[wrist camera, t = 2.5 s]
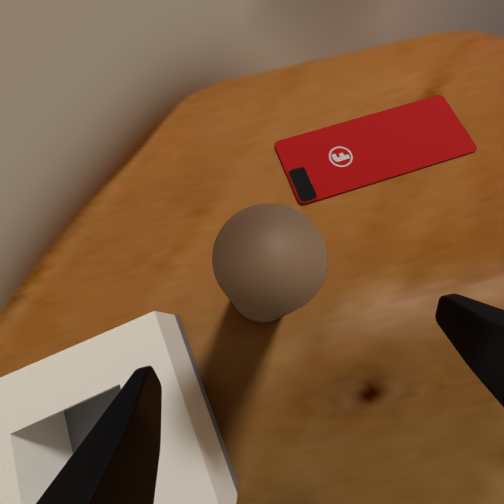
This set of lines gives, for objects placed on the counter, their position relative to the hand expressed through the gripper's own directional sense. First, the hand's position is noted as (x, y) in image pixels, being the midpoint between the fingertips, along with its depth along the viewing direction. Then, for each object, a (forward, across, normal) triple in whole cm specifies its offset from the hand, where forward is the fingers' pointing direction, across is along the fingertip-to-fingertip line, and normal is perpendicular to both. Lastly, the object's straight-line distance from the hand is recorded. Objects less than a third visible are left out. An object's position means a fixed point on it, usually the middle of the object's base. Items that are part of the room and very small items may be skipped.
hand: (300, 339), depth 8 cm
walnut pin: (+9, 0, +5) cm, 10 cm away
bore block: (+4, +10, +9) cm, 14 cm away
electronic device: (+16, -11, -1) cm, 19 cm away
